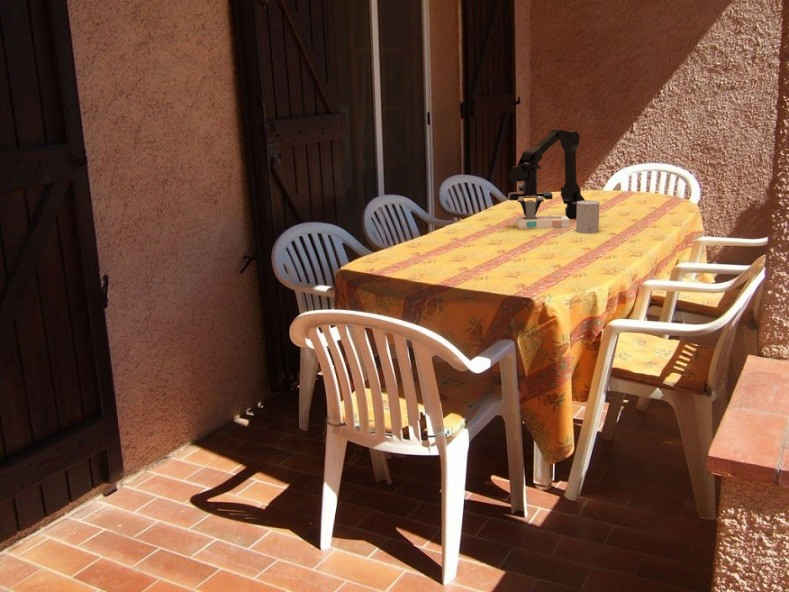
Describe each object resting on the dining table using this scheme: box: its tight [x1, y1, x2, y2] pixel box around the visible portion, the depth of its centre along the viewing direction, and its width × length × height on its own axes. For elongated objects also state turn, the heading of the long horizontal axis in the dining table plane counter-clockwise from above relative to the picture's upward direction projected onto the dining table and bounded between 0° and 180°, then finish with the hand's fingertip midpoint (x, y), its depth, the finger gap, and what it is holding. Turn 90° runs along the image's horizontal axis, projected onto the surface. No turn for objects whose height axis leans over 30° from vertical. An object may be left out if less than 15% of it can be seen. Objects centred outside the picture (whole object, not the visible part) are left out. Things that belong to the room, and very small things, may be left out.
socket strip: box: [515, 214, 571, 230], centre depth 388 cm, size 22×10×4 cm, turn 90°
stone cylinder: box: [575, 200, 600, 234], centre depth 373 cm, size 10×10×12 cm
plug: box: [524, 199, 536, 220], centre depth 387 cm, size 4×4×10 cm
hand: (530, 215), depth 387 cm, fingers closed on plug, 4 cm apart
